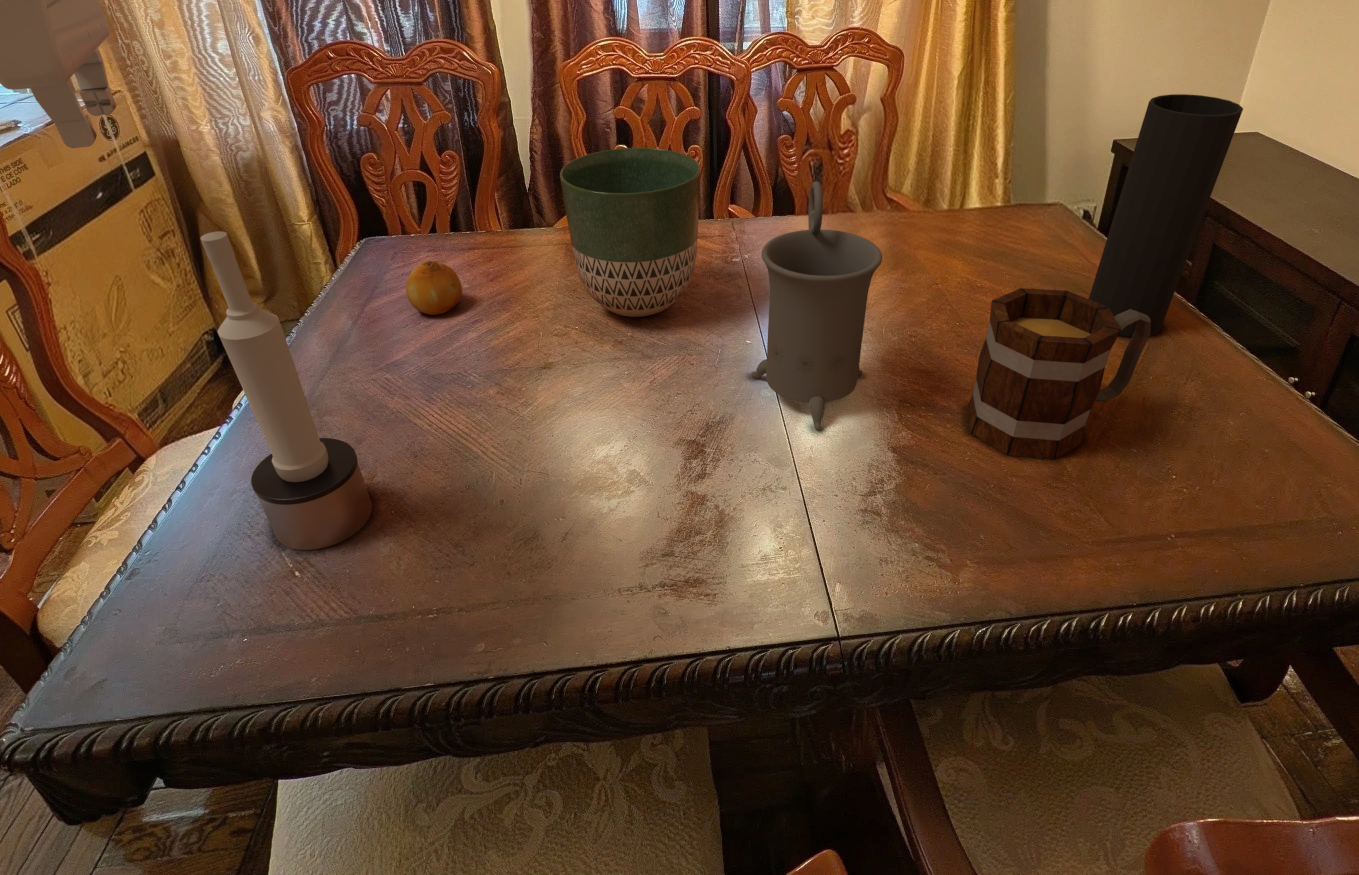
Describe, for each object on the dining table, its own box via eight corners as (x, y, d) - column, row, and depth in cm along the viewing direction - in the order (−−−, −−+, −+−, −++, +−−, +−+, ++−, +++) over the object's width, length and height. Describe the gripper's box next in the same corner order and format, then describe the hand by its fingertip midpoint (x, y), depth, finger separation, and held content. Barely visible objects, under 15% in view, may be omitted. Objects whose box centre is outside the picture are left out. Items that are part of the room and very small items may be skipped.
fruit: (452, 310, 120) (446, 256, 119) (400, 315, 120) (393, 261, 119) (470, 313, 128) (465, 263, 127) (421, 318, 128) (415, 267, 128)
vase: (1097, 337, 113) (1168, 116, 95) (1074, 304, 121) (1136, 94, 103) (1173, 338, 112) (1259, 115, 94) (1145, 304, 120) (1220, 93, 103)
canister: (308, 565, 81) (286, 513, 77) (254, 525, 86) (231, 474, 82) (392, 510, 87) (376, 459, 83) (337, 475, 92) (320, 426, 88)
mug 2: (879, 431, 97) (909, 233, 82) (756, 432, 97) (764, 236, 82) (854, 351, 112) (876, 172, 97) (748, 353, 112) (754, 174, 97)
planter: (721, 323, 119) (722, 180, 107) (596, 349, 114) (581, 202, 101) (674, 271, 134) (670, 140, 121) (561, 293, 129) (545, 158, 116)
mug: (1000, 468, 90) (1032, 353, 81) (944, 403, 101) (966, 295, 92) (1154, 442, 93) (1201, 329, 84) (1084, 382, 104) (1119, 275, 95)
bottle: (320, 483, 80) (230, 247, 65) (268, 484, 80) (167, 249, 65) (337, 451, 84) (256, 223, 69) (288, 453, 84) (197, 225, 70)
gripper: (-18, -99, 58) (71, 101, 66) (-120, -85, 43) (12, 173, 51) (81, -102, 60) (156, 93, 68) (17, -90, 45) (123, 159, 53)
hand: (94, 128), depth 60 cm, fingers open, 8 cm apart
